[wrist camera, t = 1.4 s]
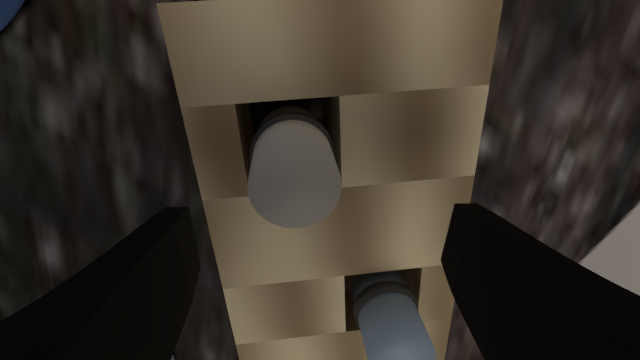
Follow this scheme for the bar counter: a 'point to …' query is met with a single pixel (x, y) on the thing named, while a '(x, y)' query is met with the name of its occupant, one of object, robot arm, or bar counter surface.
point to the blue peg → (389, 318)
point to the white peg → (293, 169)
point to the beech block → (350, 153)
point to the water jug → (8, 11)
